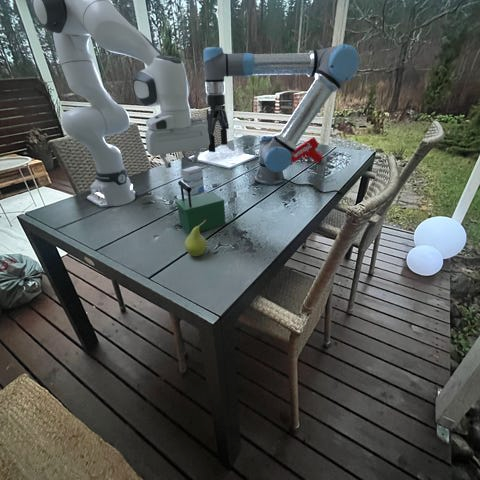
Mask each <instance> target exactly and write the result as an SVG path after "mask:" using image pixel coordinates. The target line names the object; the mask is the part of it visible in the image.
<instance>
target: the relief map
mask: <svg viewBox="0 0 480 480" xmlns="http://www.w3.org/2000/svg"><path fill="white" fill-rule="evenodd" d="M192 157H194V155H191V156H188V160H191V161H192ZM256 158H257V157H256V155H254V154H248V153H245V152H244V151H243V150H242V148H237V149H235V150H232V149H230V148H229V147H228V146H227V145H226V144H220V145H217V147H215V152H209V149H208V150H205V151H200V154H199V156H198V163H199V162H200V163H203V164H208V165H213V166H215V167H216V166H217V167H221V168H225V169H230V170H231V169H233V168H236V167H238V166H240V165H242V164H245V163H247V162H249V161H252V160H255V159H256Z"/></svg>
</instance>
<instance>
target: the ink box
mask: <svg viewBox="0 0 480 480" xmlns="http://www.w3.org/2000/svg"><path fill="white" fill-rule="evenodd" d="M181 175H182V181H183V182H184V183H186V184H187V185H188V186H190V187H191V189H192V190H191V192H190V196H191V197H192V196H195V195H198V194H199V193H200V194H201V193H202V192H205V187H204V173H203V168H202V167H201V166H199V165H194V166H190V167H186V168H183V169H181ZM183 192H184V194H185V195H188V192H187V191H186V190H184V189H183Z"/></svg>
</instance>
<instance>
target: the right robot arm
mask: <svg viewBox="0 0 480 480" xmlns="http://www.w3.org/2000/svg"><path fill="white" fill-rule="evenodd" d="M202 53H203V70H204V80H205V81H204V82H205V85H204V87H205V93H206V96H205V97H206V105H207V106H209V107H210V108H207V109H206V118H205V119H206V120H207V122H208V134H209V140H210V145H209V147H208V150H209V152H215V148H216V138H215V135H214V134H215V130H216V125H217V122H218V124H219V126H220V128H221V129H220V145H226V146H227V145H228V130H229V129H230V124H229V120H228V116H227V112H226V111H227V110H226V105H225V104H226V95H225V93H226V87H225V86H226V85H225V77H227V78H228V77H245V78H246V77H252V76H275V75H278V76H279V75H285V76H286V75H306V76H307V77H309V78H314V81H313V82H312V83H311V86H310V88H309V89H308V90H307V92H306V93H305V95H304V96H303V98H302V99H301V101H300V103H299V104H298V105H297V107H296V108H295V110H294V111H293V113H292V115H290V118H289V119H288V120H287V122H286V124H285V125H284V127H283V128H282V129H281V131H280V132H279V133H276V134H263V135H261V136H260V137H259V153H258V157H259V158H258V167H257V171H256V174H255V177H254V181H255V183H258V184H259V185H262V186H263V185H264V186H279V185H281V184H283V183H284V181H285V182H287V183H289V184H292V185H295V186H299V187H305V186H306V187H307V186H309V187H312V188H315V189H316V191H318V192H320V193H322V194H331V193H338V194H340V195H343V192H342V191H340V190H338V189H333V190H327V191H326V192H323V191H324V190H322V189H320V188H319V187H318V186H317V185H315V184H312V183H297V182H294V181H292V180H289V179H286V178H285V175H284V171H285V170H286V169H288V168H289V166H290V165H291V163H292V160H291V157H292V155H293V154H294V152H295V151H296V148H297V143H298V142H299V140H301V138H302V136H303V135H304V134H305V132H306V131H307V130H308V128H309V127H310V126H311V123H312V122H313V121H314V119H315V118H316V117H317V115H318V114H319V112H320V111H321V109H322V108H323V107H324V105H325V104H326V102H327V101H328V99H329V98H330V97H331V95H332V94H333V93H336V92H339V90H340V89H341V87H342V86H343V85H344V83H345V82H347V81H349V80H350V79H352V78H353V77H354V76H355V74H356V73H357V71H358V69H359V66H360V55H359V52H358V50H357V49H356V48H355V47H354V46H353V45H351V44H346V43H342V44H338V45H333V46H330V47H326V48H321V49H311V50H310V51H309V52H304V53H303V52H301V53H298V52H297V53H296V52H295V53H254V54H253V53H249V52H242V53H241V52H239V53H237V52H236V53H225V52H224V48H223V47H220V46H218V47H217V46H210V47H205V48H204V49H203V51H202ZM314 185H315V186H314ZM316 186H317V187H318V188H319V189H318V188H317V187H316ZM321 190H322V191H321Z"/></svg>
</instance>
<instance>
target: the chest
mask: <svg viewBox="0 0 480 480" xmlns="http://www.w3.org/2000/svg"><path fill="white" fill-rule="evenodd" d="M225 207H226V206H225V202H224V203H221V204H217V205H213V206H210V207H206V208H202V209H198V210H195V211H191V212H187V213H185V212H184V211H183V210H182V209H181V208H180V207H179V206H178V205H177V211H178V212H177V213H178V217H179V218H178V219H179V224H180V226H181V227H182V228H183V229H184V231H186V232H187V234H188V235H190V233H191V231H192V230H193V229H194V228H195V227H196V226H199V225H200V224H201V223H202V222H204V220H205V219H206V222H205V223H203V224H202V225H201V226H200V227H199V232H200V233H202V232H205V231H208V230H210V229H214V228H217V227H220V226H223V225H226V210H225Z"/></svg>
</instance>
